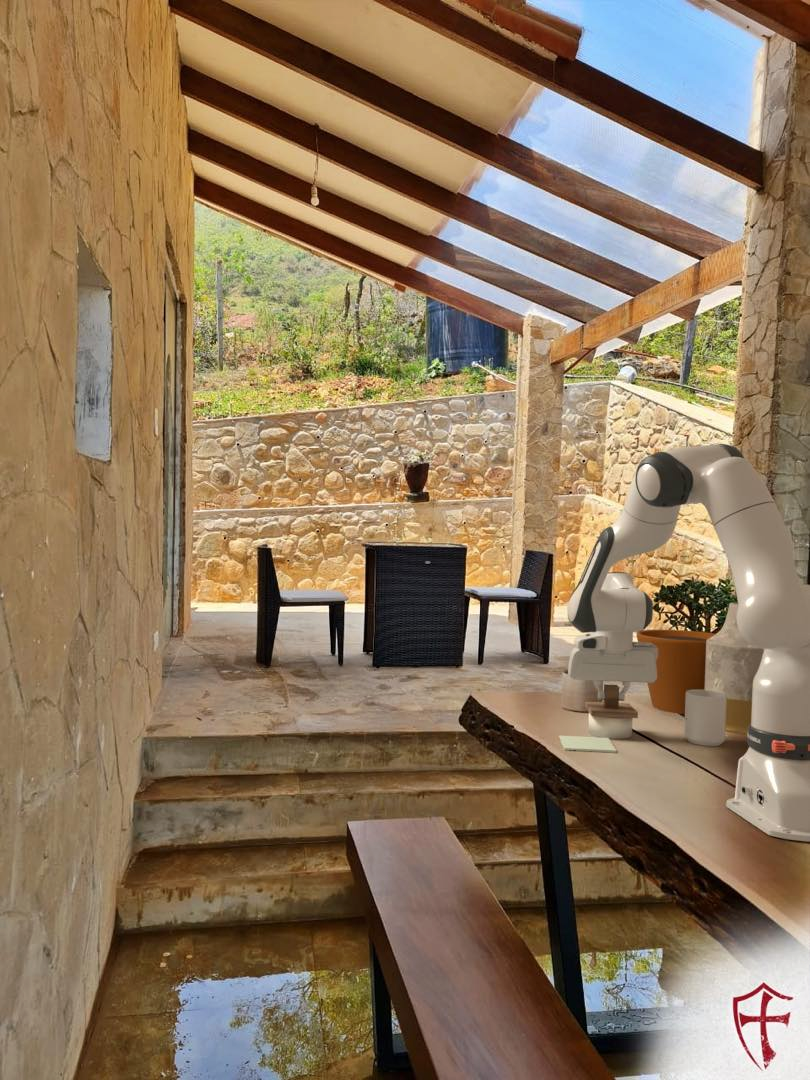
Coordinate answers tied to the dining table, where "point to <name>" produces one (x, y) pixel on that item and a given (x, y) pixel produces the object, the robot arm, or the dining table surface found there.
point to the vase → (732, 671)
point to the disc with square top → (610, 727)
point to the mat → (587, 744)
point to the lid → (611, 705)
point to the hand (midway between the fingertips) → (611, 699)
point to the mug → (705, 717)
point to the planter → (578, 693)
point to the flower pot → (676, 666)
